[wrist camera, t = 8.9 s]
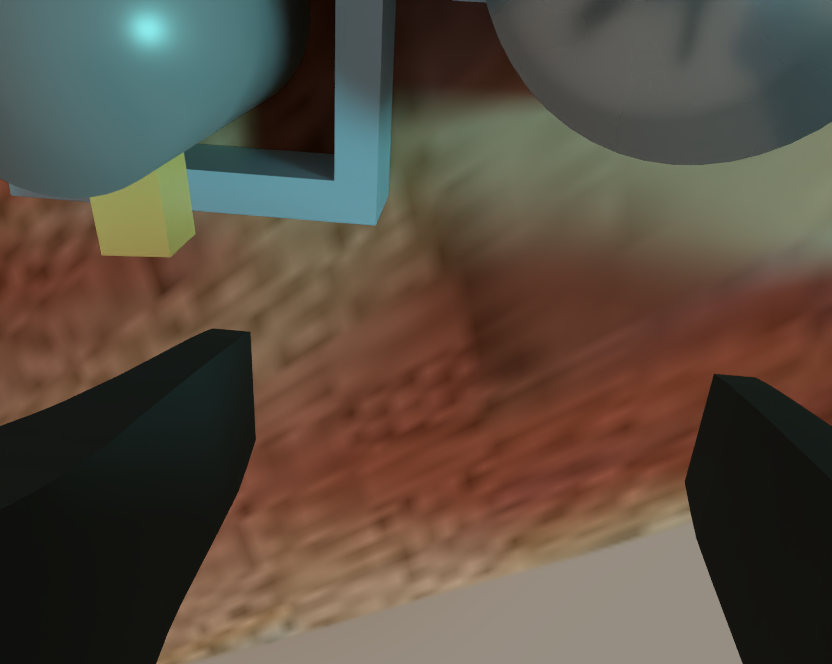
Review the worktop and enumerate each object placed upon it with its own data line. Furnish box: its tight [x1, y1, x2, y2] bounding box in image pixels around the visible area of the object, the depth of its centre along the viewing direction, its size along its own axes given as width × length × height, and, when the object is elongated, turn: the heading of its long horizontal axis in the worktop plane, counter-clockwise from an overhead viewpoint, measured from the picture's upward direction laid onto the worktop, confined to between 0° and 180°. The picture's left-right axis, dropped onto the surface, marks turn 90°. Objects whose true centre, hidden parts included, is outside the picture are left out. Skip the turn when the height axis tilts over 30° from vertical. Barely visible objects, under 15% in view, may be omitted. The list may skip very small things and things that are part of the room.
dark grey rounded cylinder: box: [0, 0, 310, 257], centre depth 15 cm, size 5×6×8 cm
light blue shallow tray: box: [9, 0, 396, 225], centre depth 17 cm, size 9×9×2 cm
